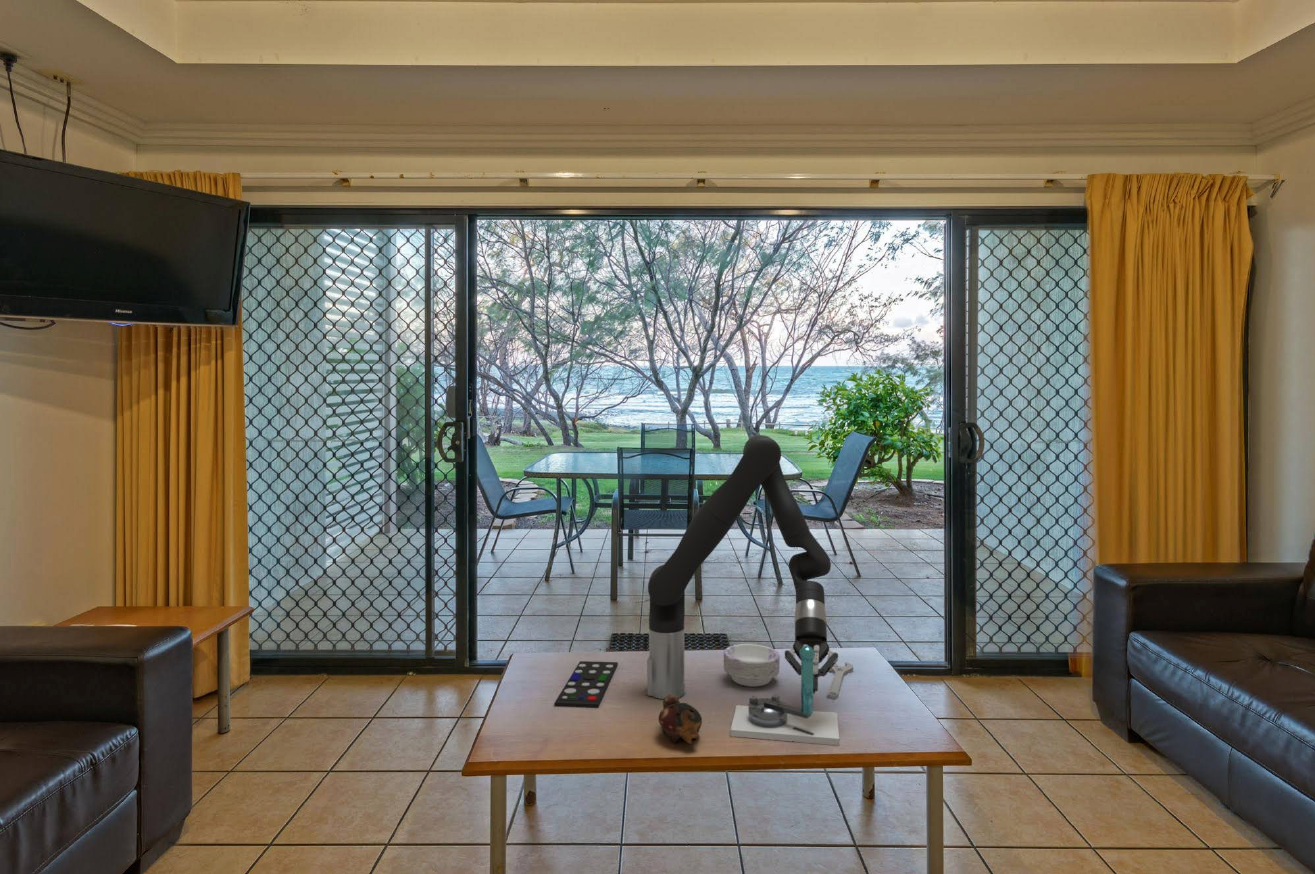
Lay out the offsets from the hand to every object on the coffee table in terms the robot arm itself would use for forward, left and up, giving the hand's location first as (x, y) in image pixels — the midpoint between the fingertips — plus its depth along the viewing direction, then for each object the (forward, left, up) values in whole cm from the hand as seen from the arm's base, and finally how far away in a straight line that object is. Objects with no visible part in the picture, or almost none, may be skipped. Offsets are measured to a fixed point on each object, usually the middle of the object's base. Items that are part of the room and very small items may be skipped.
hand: (811, 692), depth 168 cm
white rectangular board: (-6, +2, -10) cm, 12 cm away
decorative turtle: (-29, -8, -10) cm, 32 cm away
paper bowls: (-16, +30, -10) cm, 36 cm away
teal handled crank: (-7, +1, -8) cm, 11 cm away
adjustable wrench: (+6, +34, -10) cm, 36 cm away
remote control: (-59, +19, -11) cm, 63 cm away
